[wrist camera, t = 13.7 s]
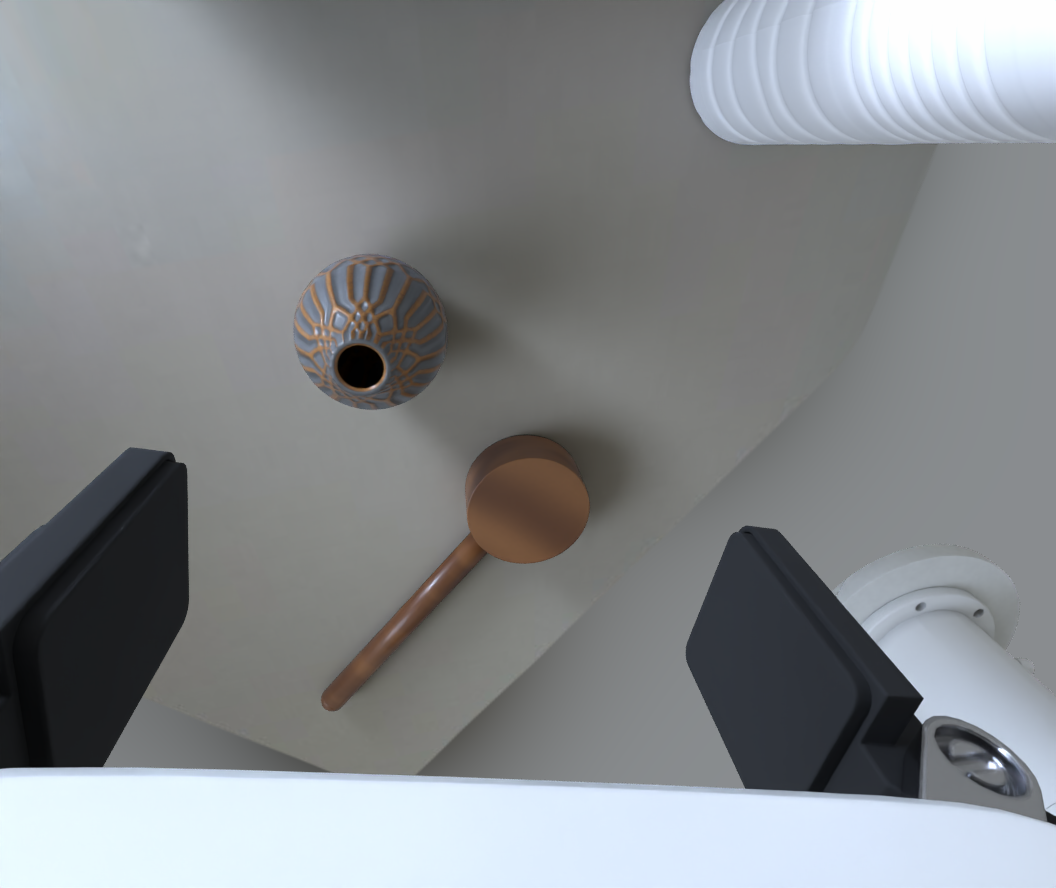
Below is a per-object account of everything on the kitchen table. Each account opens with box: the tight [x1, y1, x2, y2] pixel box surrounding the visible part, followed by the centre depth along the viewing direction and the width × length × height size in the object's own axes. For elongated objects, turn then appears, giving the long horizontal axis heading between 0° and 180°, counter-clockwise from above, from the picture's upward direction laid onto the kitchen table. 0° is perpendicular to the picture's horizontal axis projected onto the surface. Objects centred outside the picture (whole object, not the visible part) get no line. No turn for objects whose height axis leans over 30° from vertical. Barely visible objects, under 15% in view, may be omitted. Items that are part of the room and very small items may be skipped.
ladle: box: [321, 435, 590, 711], centre depth 39 cm, size 24×7×3 cm, turn 139°
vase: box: [294, 254, 448, 410], centre depth 28 cm, size 7×7×9 cm
